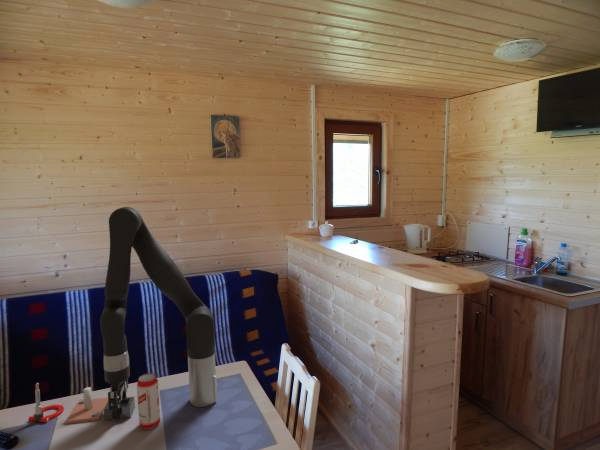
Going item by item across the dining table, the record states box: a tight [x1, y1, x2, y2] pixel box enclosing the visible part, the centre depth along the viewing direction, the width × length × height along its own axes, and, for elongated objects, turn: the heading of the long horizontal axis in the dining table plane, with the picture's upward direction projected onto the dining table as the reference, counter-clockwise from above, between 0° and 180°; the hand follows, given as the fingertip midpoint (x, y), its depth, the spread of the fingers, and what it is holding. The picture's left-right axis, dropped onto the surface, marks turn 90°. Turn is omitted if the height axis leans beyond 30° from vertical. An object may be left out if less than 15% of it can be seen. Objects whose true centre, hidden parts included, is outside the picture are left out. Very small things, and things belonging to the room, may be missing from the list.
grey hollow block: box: [103, 396, 136, 422], centre depth 129 cm, size 8×6×4 cm
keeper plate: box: [65, 386, 108, 425], centre depth 131 cm, size 10×12×8 cm
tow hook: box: [28, 382, 65, 423], centre depth 129 cm, size 8×13×9 cm
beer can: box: [136, 373, 161, 430], centre depth 123 cm, size 6×6×16 cm
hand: (120, 411), depth 129 cm, fingers open, 8 cm apart
